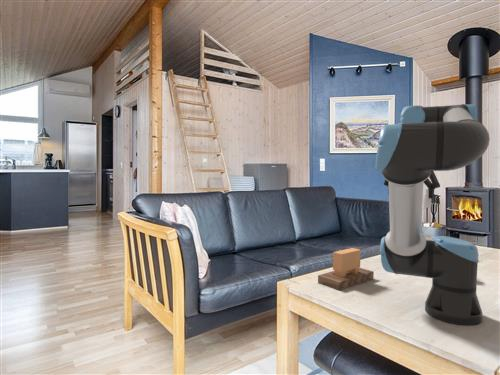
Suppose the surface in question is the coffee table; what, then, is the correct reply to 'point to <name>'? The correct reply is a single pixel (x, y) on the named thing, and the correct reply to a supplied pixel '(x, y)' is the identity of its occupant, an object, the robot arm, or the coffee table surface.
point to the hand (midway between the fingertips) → (409, 205)
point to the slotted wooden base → (345, 279)
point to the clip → (346, 262)
